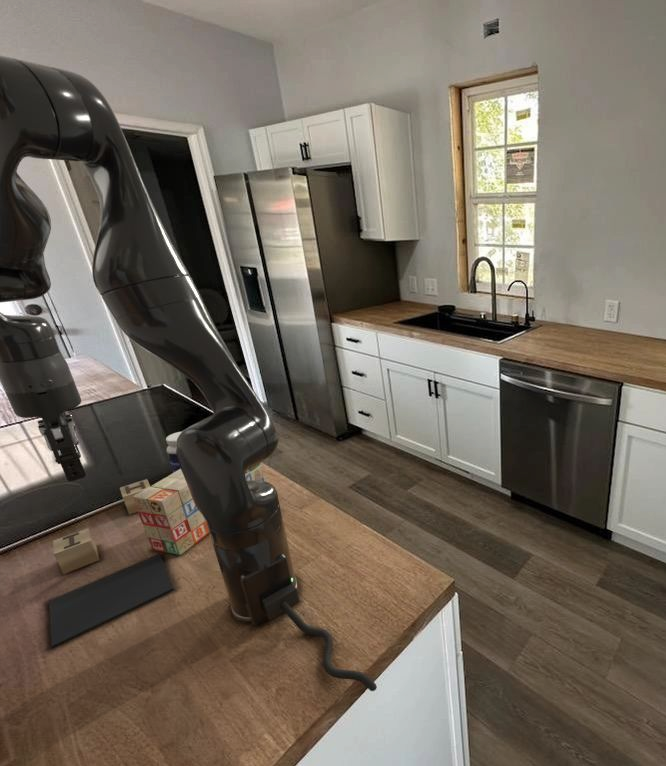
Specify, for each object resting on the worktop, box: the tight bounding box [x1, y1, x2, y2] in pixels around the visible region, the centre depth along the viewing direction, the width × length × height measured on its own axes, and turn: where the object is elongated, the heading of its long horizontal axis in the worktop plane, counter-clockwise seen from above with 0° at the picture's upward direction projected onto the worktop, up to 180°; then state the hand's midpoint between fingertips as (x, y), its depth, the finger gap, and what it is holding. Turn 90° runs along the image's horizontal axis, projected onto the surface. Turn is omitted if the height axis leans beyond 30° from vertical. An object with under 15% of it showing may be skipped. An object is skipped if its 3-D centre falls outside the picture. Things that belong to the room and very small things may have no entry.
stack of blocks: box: [133, 463, 265, 556], centre depth 83 cm, size 21×6×12 cm, turn 168°
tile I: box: [52, 528, 100, 575], centre depth 73 cm, size 4×4×5 cm
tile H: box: [119, 478, 151, 515], centre depth 87 cm, size 4×4×5 cm
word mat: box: [48, 553, 175, 649], centre depth 67 cm, size 11×14×1 cm
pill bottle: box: [165, 431, 182, 473], centre depth 98 cm, size 6×6×10 cm
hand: (75, 468), depth 72 cm, fingers open, 8 cm apart
